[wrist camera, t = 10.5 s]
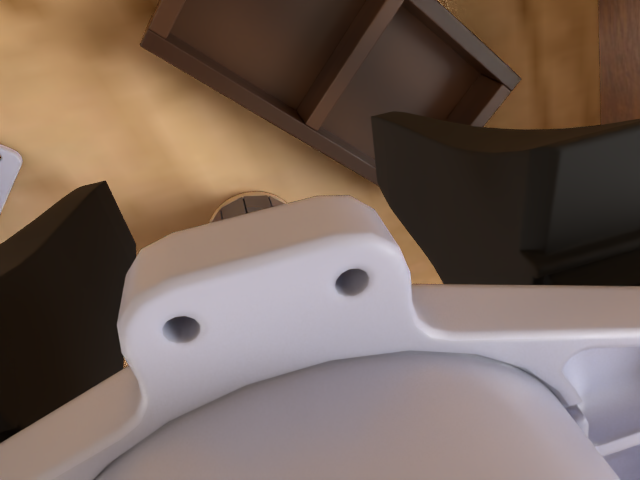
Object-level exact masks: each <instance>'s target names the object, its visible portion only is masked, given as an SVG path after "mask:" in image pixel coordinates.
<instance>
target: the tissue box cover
mask: <svg viewBox="0 0 640 480" xmlns="http://www.w3.org/2000/svg"><path fill="white" fill-rule="evenodd" d="M599 47H600V94H601V125H603V124H609V123H616V122H622V121H628V120H634V119H640V0H599Z"/></svg>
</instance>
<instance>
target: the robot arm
mask: <svg viewBox="0 0 640 480" xmlns="http://www.w3.org/2000/svg"><path fill="white" fill-rule="evenodd" d="M371 123H372V134H373V144H374V154H375V164H376V174H377V183H378V185H379V187H380V189H381V191H382V193H383V195H384V197H385V199H386V201H387V202H388V204H389V206H390V208H391V209H392V210H393V212H394V213H395V215H396V216H397V217H398V219H399V220H400V221H401V223H402V224H403V225H404V227H405V228H406V229H407V231H408V232H409V233H410V235H411V236H412V237H413V238H414V240H415V241H416V242H417V244H418V245H419V246H420V248H421V249H422V250H423V252H424V253H425V254H426V256H427V257H428V259H429V260H430V262H431V263H432V265H433V266H434V268H435V269H436V271H437V273H438V275H439V276H440V278H441V280H442V282H443V283H444V284H411V273H410V270H409V268H408V266H407V263H406V261H405V259H404V256H403V254H402V252H401V249H400V247H399V246H398V244H397V243H396V241H395V240H394V238H393V237H392V235H391V234H390V232H389V231H388V229H387V228H386V226H385V225H384V223H383V221H382V220H381V218H380V217H379V215H378V214H377V212H376V211H375V209H373V208H371V207H369V206H368V205H366V204H364V203H362V202H361V201H359V200H357V199H355V198H354V197H352V196H350V195H336V196H314V197H310V198H306V199H302V200H298V201H295V202H291V203H287V204H283V205H279V206H275V207H271V208H267V209H263V210H259V211H255V212H252V213H248V214H244V215H240V216H236V217H232V218H228V219H224V220H220V221H216V222H212V223H209V224H205V225H201V226H197V227H193V228H189V229H185V230H181V231H177V232H173V233H171V234H169V235H167V236H165V237H163V238H161V239H159V240H157V241H156V242H154V243H152V244H150V245H148V246H146V247H144V248H142V249H141V250H140V252H139V254H138V255H137V257H136V243H135V241H134V239H133V237H132V235H131V233H130V231H129V229H128V226H127V224H126V222H125V220H124V218H123V216H122V214H121V212H120V210H119V208H118V205H117V203H116V201H115V199H114V197H113V195H112V193H111V191H110V189H109V186H108V184H107V182H106V181H102V182H98V183H94V184H90V185H85V186H82V187H79V188H77V189H75V190H74V191H72V192H71V193H69V194H68V195H66V196H65V197H64V198H62V199H61V200H60V201H58V202H57V203H56V204H54V205H53V206H52V207H51V208H49V209H48V210H47V211H45V212H44V213H43V214H42V215H40V216H39V217H38V218H36V219H35V220H34V221H32V222H31V223H30V224H28V225H27V226H26V227H24V228H23V229H21V230H20V231H19V232H17V233H16V234H14V235H13V236H12V237H10V238H9V239H8V240H6V241H5V242H3V243H2V244H0V480H640V119H634V120H628V121H622V122H616V123H609V124H603V125H596V126H586V127H576V128H564V129H543V130H514V129H498V128H486V127H477V126H471V125H465V124H458V123H453V122H448V121H443V120H438V119H434V118H429V117H425V116H420V115H416V114H411V113H406V112H399V111H392V112H388V113H383V114H379V115H375V116H371ZM0 156H1V159H0V214H1V212H2V209H3V207H4V205H5V202H6V200H7V198H8V195H9V193H10V191H11V189H12V186H13V184H14V182H15V179H16V177H17V175H18V172H19V170H20V168H21V165H22V161H23V160H22V157H21V155H20V154H19V153H18V152H17V151H15V150H14V149H11V148H9V147H6V146H4V145H2V144H0ZM124 358H125V360H126V361H127V363H128V365H129V366H127V367H126V368H124V369H123V361H124Z"/></svg>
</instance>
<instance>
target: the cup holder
mask: <svg viewBox="0 0 640 480" xmlns="http://www.w3.org/2000/svg"><path fill="white" fill-rule="evenodd" d="M140 46H141V47H143V48H144V49H146V50H148V51H149V52H151V53H153V54H155V55H156V56H158V57H160V58H161V59H163V60H165V61H166V62H168V63H170V64H172V65H173V66H175V67H177V68H178V69H180V70H182V71H183V72H185V73H187V74H189V75H190V76H192V77H194V78H195V79H197V80H199V81H201V82H202V83H204V84H206V85H207V86H209V87H211V88H212V89H214V90H216V91H218V92H219V93H221V94H223V95H224V96H226V97H228V98H230V99H231V100H233V101H235V102H236V103H238V104H240V105H241V106H243V107H245V108H247V109H248V110H250V111H252V112H253V113H255V114H257V115H259V116H260V117H262V118H264V119H265V120H267V121H269V122H270V123H272V124H274V125H276V126H277V127H279V128H281V129H282V130H284V131H286V132H287V133H289V134H291V135H293V136H294V137H296V138H298V139H299V140H301V141H303V142H305V143H306V144H308V145H310V146H311V147H313V148H315V149H316V150H318V151H320V152H322V153H323V154H325V155H327V156H328V157H330V158H332V159H334V160H335V161H337V162H339V163H340V164H342V165H344V166H345V167H347V168H349V169H351V170H352V171H354V172H356V173H357V174H359V175H361V176H362V177H364V178H366V179H368V180H369V181H371V182H373V183H374V184H376V185H378V183H377V174H376V164H375V154H374V144H373V134H372V123H371V116H375V115H379V114H383V113H388V112H392V111H399V112H406V113H411V114H416V115H420V116H425V117H429V118H434V119H438V120H443V121H448V122H453V123H458V124H465V125H471V126H477V127H483V126H484V125H485V124H486V123H487V121H488V120H489V119H490V118H491V116H492V115H493V114H494V113H495V111H496V110H497V109H498V108H499V106H500V105H501V104H502V103H503V101H504V100H505V99H506V98H507V96H508V95H509V94H510V93H511V91H512V90H513V89H514V88H515V87H516V85H517V84H518V83H519V82H520V80H521V78H520V77H519V76H518V75H517V74H516V73H515V72H514V71H513V70H512V69H511V68H510V67H509V66H507V65H506V64H505V63H504V62H503V61H502V60H501V59H500V58H499V57H498V56H497V55H496V54H494V53H493V52H492V51H491V50H490V49H489V48H488V47H487V46H486V45H485V44H484V43H483V42H481V41H480V40H479V39H478V38H477V37H476V36H475V35H474V34H473V33H472V32H471V31H470V30H468V29H467V28H466V27H465V26H464V25H463V24H462V23H461V22H460V21H459V20H458V19H457V18H455V17H454V16H453V15H452V14H451V13H450V12H449V11H448V10H447V9H446V8H445V7H444V6H442V5H441V4H440V3H439V2H438V1H437V0H160V1H159V3H158V5H157V7H156V9H155V11H154V13H153V15H152V17H151V19H150V21H149V23H148V25H147V27H146V30H145V32H144V34H143V37H142V40H141V43H140ZM378 186H379V185H378Z"/></svg>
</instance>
